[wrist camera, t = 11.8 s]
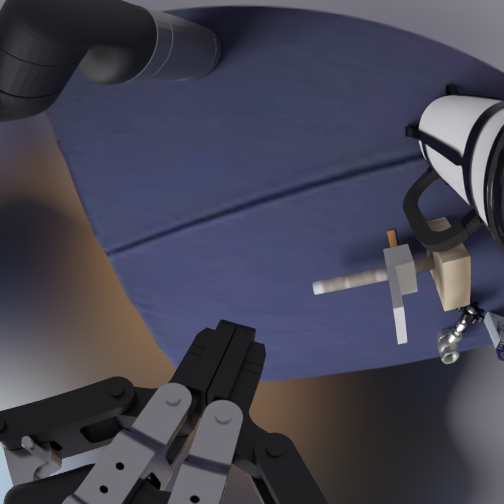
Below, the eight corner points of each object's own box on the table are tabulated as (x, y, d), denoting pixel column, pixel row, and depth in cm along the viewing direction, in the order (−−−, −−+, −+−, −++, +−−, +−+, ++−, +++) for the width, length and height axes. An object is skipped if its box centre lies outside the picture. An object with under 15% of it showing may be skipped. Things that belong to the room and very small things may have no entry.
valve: (451, 343, 50) (479, 299, 44) (457, 366, 45) (489, 322, 39) (427, 338, 52) (454, 293, 45) (432, 363, 46) (463, 317, 40)
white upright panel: (388, 279, 44) (398, 344, 33) (382, 247, 42) (393, 308, 30) (412, 273, 43) (428, 337, 31) (407, 241, 41) (426, 301, 29)
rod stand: (324, 287, 52) (317, 335, 42) (310, 249, 49) (301, 293, 39) (449, 259, 43) (469, 304, 33) (444, 216, 39) (470, 255, 30)
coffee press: (398, 75, 32) (509, 51, 7) (494, 97, 28) (644, 142, 3) (391, 191, 40) (446, 343, 16) (480, 204, 36) (580, 339, 12)
